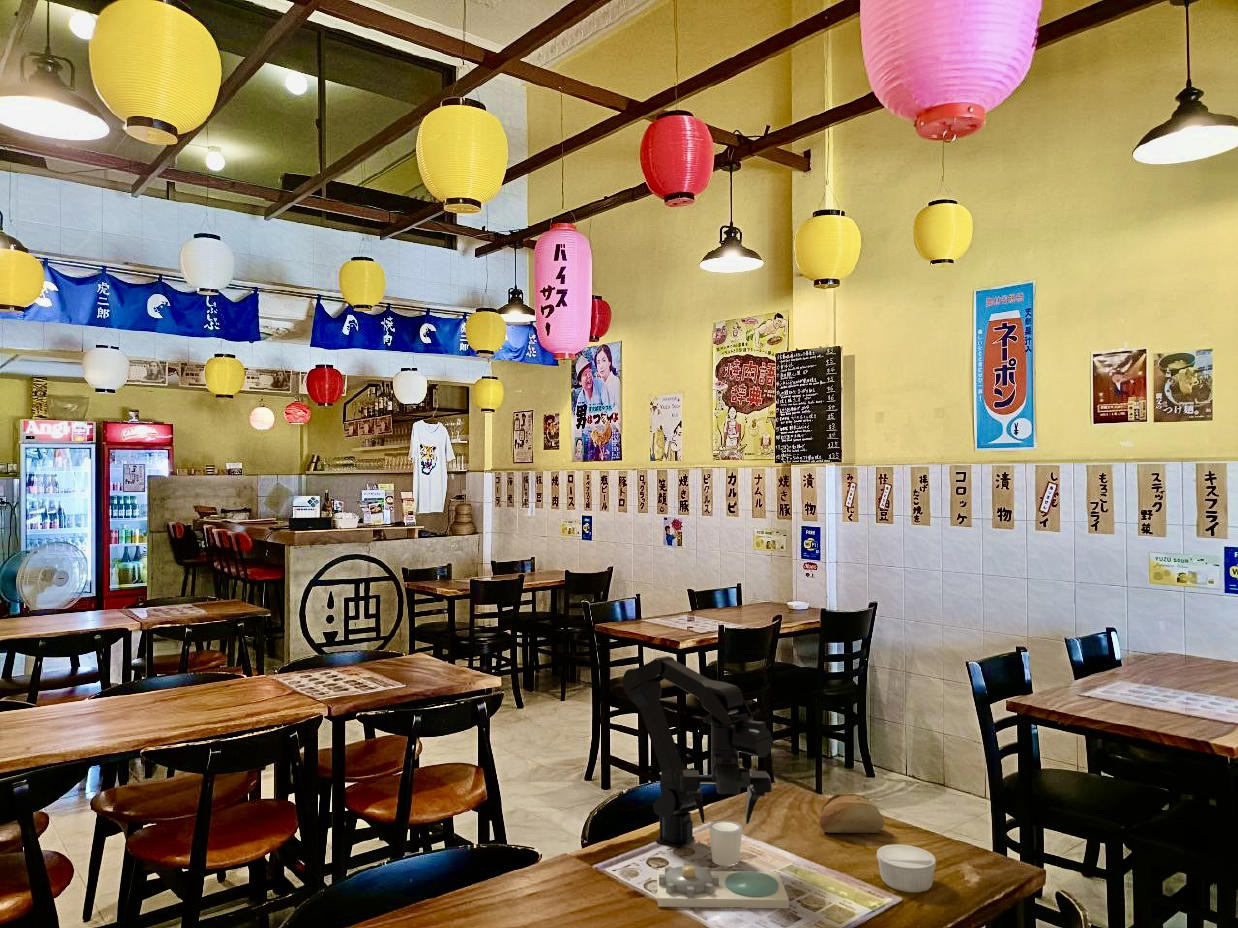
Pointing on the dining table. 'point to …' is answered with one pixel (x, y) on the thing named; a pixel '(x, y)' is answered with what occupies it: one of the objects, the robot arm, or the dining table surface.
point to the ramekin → (906, 867)
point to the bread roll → (850, 815)
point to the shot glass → (725, 842)
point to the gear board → (719, 888)
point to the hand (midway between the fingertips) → (725, 822)
